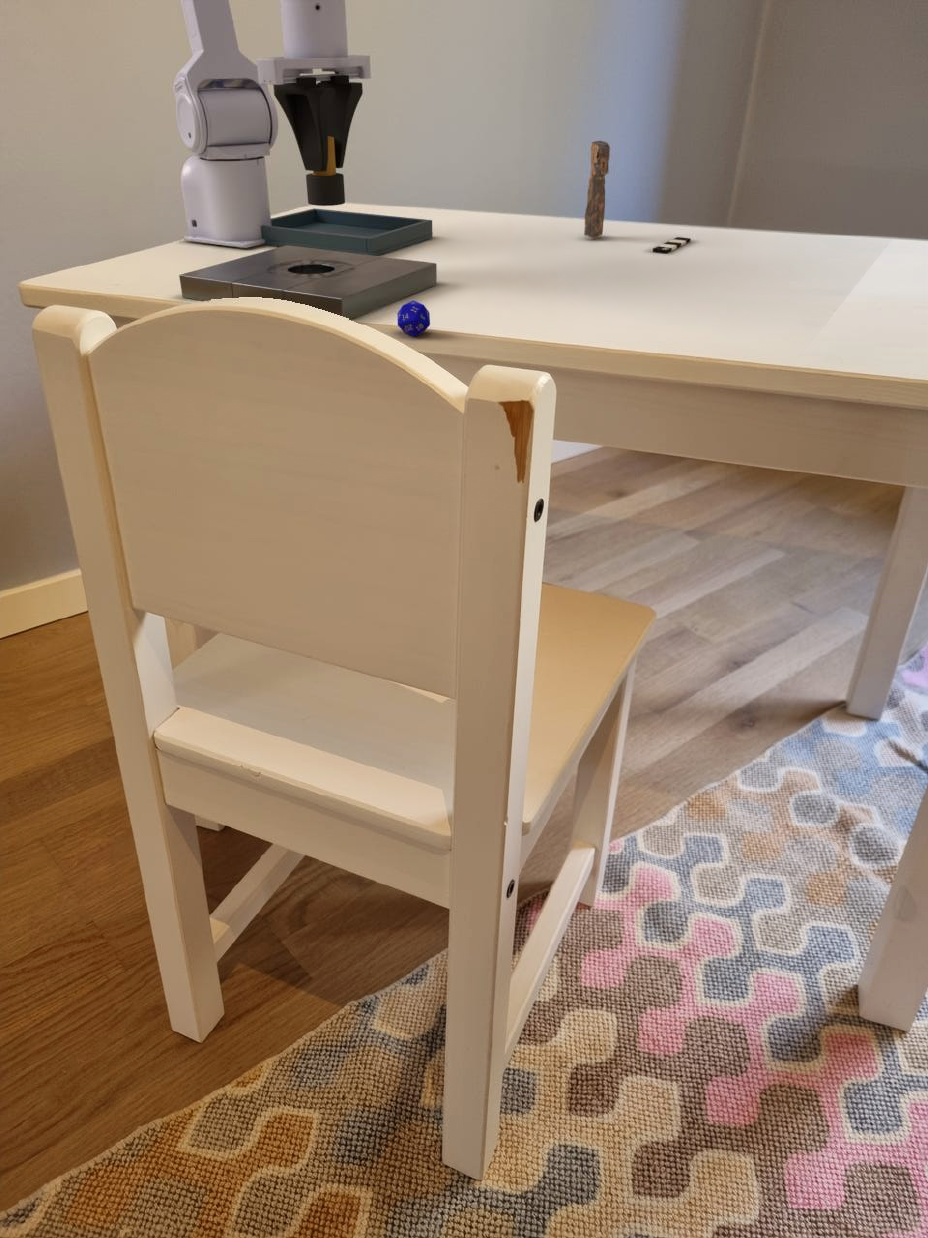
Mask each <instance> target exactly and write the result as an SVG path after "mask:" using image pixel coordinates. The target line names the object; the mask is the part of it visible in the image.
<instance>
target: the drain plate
mask: <svg viewBox="0 0 928 1238" xmlns="http://www.w3.org/2000/svg"><path fill="white" fill-rule="evenodd" d="M437 271H438V270H437V263H436V262H429V261H421V260H411V259H404V258H396V257H387V256H381V255H379V256H372V255H364V254H356V253H347V252H339V251H331V250H323V249H314V248H306V247H298V246H290V245H286V246H282V247H279V246H278V247H275V248H272V249H271V248H270V249H269V250H265V251H261V252H257V253H254V254H250V255H246V256H243V257H240V258H235V259H232V260H228V261H225V262H221V263H217V264H214V265H211V266H207V267H203V268H199V269H195V270H192V271H189V272H185V273H181V274H179V275H178V277H179V283H180V290H181V297H182V298H185V299H192V300H198V301H204V300H211V299H222V298H239V297H262V298H273V299H281V300H287V301H292V302H295V303H300V304H305V305H309V306H312V307H315V308H318V309H322V310H325V311H328V312H331V313H334V314H337V315H340V316H343V317H346V318H349V319H350V320H353V319H356V318H358V317H360V316H363V315H365V314H368V313H370V312H373V311H375V310H377V309H380V308H382V307H385V306H386V305H390V304H392V303H396V302H397V301H400V300H402V299H404V298H407V297H409V296H412V295H414V294H417V293H419V292H422V291H425V290H427V289H430V288H432V287H434V286H437V284H438V282H437V281H438V278H437V274H438V273H437Z"/></svg>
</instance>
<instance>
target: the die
mask: <svg viewBox="0 0 928 1238" xmlns="http://www.w3.org/2000/svg"><path fill="white" fill-rule="evenodd" d="M397 326H398V328H400V330H401V331H402V333H404V334H407V335H409V336H411V337H413V338H415V337H418V336H419V335H422V334H423V333H425V332H426V331H427V329H428V328H429V327H430V326H431V314H430V311H429V310H428V309H427V307H426V305H425V304H423V303H421V302H418V301H416V300H411V301H408V302H406V303H404V304H403V305H402V306H401V307H400V309H399V310H398V311H397Z"/></svg>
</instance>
